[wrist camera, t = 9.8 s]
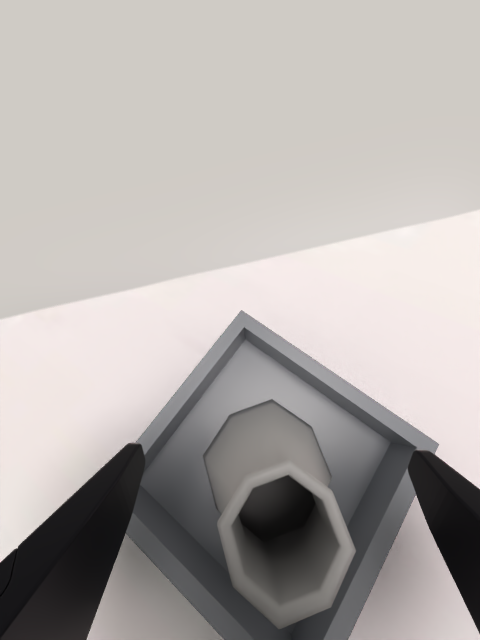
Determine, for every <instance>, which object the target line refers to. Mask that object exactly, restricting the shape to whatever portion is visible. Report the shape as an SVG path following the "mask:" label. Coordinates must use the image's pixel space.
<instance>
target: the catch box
mask: <svg viewBox="0 0 480 640" xmlns="http://www.w3.org/2000/svg"><path fill="white" fill-rule="evenodd" d="M271 399H273V400H274V401H276V402H277V403H279V404H280V405H281V406H283V407H284V408H286V409H287V410H289V411H290V412H292V413H293V414H294V415H296V416H297V417H299V418H300V419H302V420H303V421H305V422H306V423H308V424H309V425H310V426H312V428H313V431H314V433H315V436H316V438H317V441H318V443H319V446H320V448H321V450H322V453H323V455H324V458H325V460H326V463H327V465H328V468H329V470H330V473H331V475H332V479H331V481H330V483H329V485H328V488H329V489H331V490H332V492H333V494H334V496H335V499H336V501H337V504H338V506H339V509H340V511H341V514H342V516H343V519H344V521H345V524H346V526H347V529H348V531H349V534H350V536H351V539H352V542H353V544H354V547H355V549H356V552H355V555H354V557H353V559H352V561H351V564H350V566H349V568H348V570H347V573H346V575H345V577H344V579H343V582H342V584H341V586H340V588H339V591H338V593H337V595H336V597H335V600H334V602H333V604H332V606H331V608H328V609H326V610H323V611H321V612H319V613H316V614H314V615H312V616H309V617H307V618H305V619H302V620H300V621H298V622H295V623H293V624H291V625H288V626H286V627H284V628H281V629H278V628H277V627H276V626H275V625H274V624H273V623H271V622H270V621H269V620H268V619H267V618H266V617H265V616H264V615H263V614H262V613H261V612H260V611H258V610H257V609H256V608H255V607H254V606H253V605H252V604H251V603H250V602H249V601H248V600H246V599H245V598H244V597H243V596H242V595H241V594H240V593H239V592H238V591H237V590H236V589H235V588H233V586H232V582H231V578H230V574H229V570H228V566H227V562H226V558H225V554H224V550H223V546H222V542H221V538H220V534H219V530H218V526H217V522H218V520H219V518H220V517H221V515H222V514H221V513H220V512H219V511H218V510H217V509H216V506H215V502H214V498H213V494H212V490H211V486H210V482H209V478H208V474H207V471H206V467H205V463H204V459H203V455H204V453H205V452H206V450H207V449H208V447H209V445H210V444H211V442H212V441H213V439H214V438H215V436H216V435H217V433H218V432H219V430H220V429H221V427H222V426H223V424H224V423H225V421H226V420H227V418H228V416H229V415H230V414H232V413H235V412H238V411H241V410H243V409H246V408H249V407H252V406H255V405H257V404H260V403H263V402H266V401H268V400H271ZM136 443H140V444H141V445H142V448H143V452H144V456H145V461H146V462H145V468H144V472H143V476H142V479H141V483H140V487H139V491H138V494H137V498H136V502H135V506H134V509H133V513H132V516H131V519H130V522H129V525H128V528H127V531H126V534H127V535H128V536H129V537H130V538H131V539H132V540H133V541H134V543H135V544H136V545H137V546H138V547H139V548H140V549H141V550H142V551H143V552H144V553H145V554H146V556H147V557H148V558H149V559H150V560H151V561H152V562H153V563H154V564H155V565H156V566H157V567H158V568H159V570H160V571H161V572H162V573H163V574H164V575H165V576H166V577H167V578H168V579H169V580H170V581H171V583H172V584H173V585H174V586H175V587H176V588H177V589H178V590H179V591H180V592H181V593H182V594H183V595H184V597H185V598H186V599H187V600H188V601H189V602H190V603H191V604H192V605H193V606H194V607H195V608H196V610H197V611H198V612H199V613H200V614H201V615H202V616H203V617H204V618H205V619H206V620H207V621H208V622H209V624H210V625H211V626H212V627H213V628H214V629H215V630H216V631H217V632H218V633H219V634H220V635H221V637H222V638H223V639H224V640H348V639H349V636H350V634H351V632H352V630H353V628H354V626H355V623H356V621H357V619H358V617H359V615H360V613H361V611H362V608H363V606H364V604H365V602H366V600H367V598H368V596H369V593H370V591H371V589H372V587H373V585H374V583H375V581H376V578H377V576H378V574H379V572H380V570H381V568H382V566H383V563H384V561H385V559H386V557H387V555H388V553H389V551H390V548H391V546H392V544H393V542H394V540H395V538H396V536H397V533H398V531H399V529H400V527H401V525H402V523H403V521H404V518H405V516H406V514H407V512H408V510H409V508H410V506H411V503H412V501H413V499H414V497H415V495H416V492H415V490H414V487H413V484H412V482H411V479H410V476H409V474H408V464H409V461H410V459H411V456H412V453H413V451H414V450H429V451H431V452H432V453H433V454H435V452H436V450H437V448H438V446H439V444H438V443H437V442H435V441H434V440H432V439H431V438H429V437H428V436H426V435H425V434H424V433H422V432H421V431H419V430H418V429H416V428H415V427H413V426H412V425H410V424H409V423H407V422H406V421H404V420H403V419H401V418H400V417H398V416H397V415H395V414H394V413H393V412H391V411H390V410H388V409H387V408H385V407H384V406H382V405H381V404H379V403H378V402H376V401H375V400H373V399H372V398H370V397H369V396H367V395H366V394H364V393H363V392H362V391H360V390H359V389H357V388H356V387H354V386H353V385H351V384H350V383H348V382H347V381H345V380H344V379H342V378H341V377H339V376H338V375H336V374H335V373H334V372H332V371H331V370H329V369H328V368H326V367H325V366H323V365H322V364H320V363H319V362H317V361H316V360H314V359H313V358H311V357H310V356H308V355H307V354H305V353H304V352H303V351H301V350H300V349H298V348H297V347H295V346H294V345H292V344H291V343H289V342H288V341H286V340H285V339H283V338H282V337H280V336H279V335H277V334H276V333H275V332H273V331H272V330H270V329H269V328H267V327H266V326H264V325H263V324H261V323H260V322H258V321H257V320H255V319H254V318H252V317H251V316H249V315H248V314H246V313H245V312H244V311H242V310H241V311H240V313H239V314H238V315H237V316H236V318H235V319H234V320H233V321H232V323H231V324H230V325H229V326H228V328H227V329H226V330H225V331H224V333H223V334H222V335H221V336H220V338H219V339H218V340H217V341H216V343H215V344H214V345H213V346H212V348H211V349H210V350H209V351H208V353H207V354H206V355H205V356H204V358H203V359H202V360H201V361H200V363H199V364H198V365H197V366H196V368H195V369H194V370H193V371H192V373H191V374H190V375H189V377H188V378H187V379H186V380H185V382H184V383H183V384H182V385H181V387H180V388H179V389H178V390H177V392H176V393H175V394H174V395H173V397H172V398H171V399H170V400H169V402H168V403H167V404H166V405H165V407H164V408H163V409H162V410H161V412H160V413H159V414H158V415H157V417H156V418H155V419H154V420H153V422H152V423H151V424H150V425H149V427H148V428H147V429H146V430H145V432H144V433H143V434H142V435H141V437H140V438H139V439H138V440H137V442H136Z"/></svg>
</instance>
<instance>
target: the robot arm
mask: <svg viewBox="0 0 480 640" xmlns="http://www.w3.org/2000/svg"><path fill="white" fill-rule="evenodd" d="M145 462H146V461H145V456H144V452H143V448H142V445H141V444H140V443H129V444H127V445H126V446H125V447H124V448H123V449H122V450H120V451H119V452H118V453H117V454H116V455H115V456H114V457H113V458H112V459H111V460H110V461H109V462H108V463H107V464H105V465H104V466H103V467H102V468H101V469H100V470H99V471H98V472H97V473H96V474H95V475H94V476H93V477H92V478H90V479H89V480H88V481H87V482H86V483H85V484H84V485H83V486H82V487H81V488H80V489H79V490H78V491H77V492H75V493H74V494H73V495H72V496H71V497H70V498H69V499H68V500H67V501H66V502H65V503H64V504H63V505H62V506H61V507H59V508H58V509H57V510H56V511H55V512H54V513H53V514H52V515H51V516H50V517H49V518H48V519H47V520H46V521H44V522H43V523H42V524H41V525H40V526H39V527H38V528H37V529H36V530H35V531H34V532H33V533H32V534H31V535H29V536H28V537H27V538H26V539H25V540H24V541H23V542H22V543H21V544H20V545H19V546H18V549H17V548H16V549H14V550H13V551H12V552H11V553H10V554H9V555H8V556H7V557H6V558H5V559H4V560H3V561H1V562H0V640H86V639H87V636H88V634H89V631H90V628H91V625H92V623H93V620H94V617H95V615H96V612H97V609H98V606H99V604H100V601H101V598H102V596H103V593H104V590H105V587H106V585H107V582H108V579H109V577H110V574H111V571H112V568H113V566H114V563H115V560H116V558H117V555H118V552H119V550H120V547H121V544H122V541H123V539H124V536H125V533H126V531H127V528H128V525H129V522H130V519H131V516H132V513H133V509H134V506H135V502H136V498H137V494H138V491H139V487H140V483H141V479H142V476H143V472H144V468H145ZM408 474H409V476H410V479H411V482H412V484H413V487H414V490H415V492H416V495H417V498H418V500H419V503H420V506H421V508H422V511H423V514H424V516H425V519H426V521H427V524H428V526H429V529H430V531H431V533H432V535H433V537H434V539H435V542H436V544H437V546H438V548H439V550H440V552H441V554H442V556H443V558H444V560H445V562H446V564H447V566H448V569H449V571H450V573H451V575H452V577H453V579H454V581H455V583H456V585H457V587H458V589H459V591H460V594H461V596H462V598H463V600H464V602H465V604H466V606H467V608H468V610H469V612H470V614H471V616H472V619H473V621H474V623H475V625H476V627H477V629H478V631H479V633H480V489H479V488H477V487H476V486H475V485H474V484H472V483H471V482H470V481H468V480H467V479H466V478H464V477H463V476H462V475H461V474H459V473H458V472H457V471H455V470H454V469H453V468H452V467H450V466H449V465H448V464H446V463H445V462H444V461H442V460H441V459H440V458H439V457H437V456H436V455H435V454H433V453H432V452H431V451H429V450H414V451H413V453H412V456H411V459H410V461H409V464H408Z"/></svg>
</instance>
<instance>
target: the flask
mask: <svg viewBox="0 0 480 640" xmlns="http://www.w3.org/2000/svg"><path fill="white" fill-rule="evenodd" d="M203 459H204V463H205V467H206V471H207V474H208V478H209V482H210V486H211V490H212V494H213V498H214V502H215V506H216V509H217V510H218V511H219V512H220V513H221V514H222V515H221V517H220V518H219V520H218V522H217V526H218V530H219V534H220V538H221V542H222V546H223V550H224V554H225V558H226V562H227V566H228V570H229V574H230V578H231V582H232V586H233V588H235V589H236V590H237V591H238V592H239V593H240V594H241V595H242V596H243V597H244V598H245V599H246V600H248V601H249V602H250V603H251V604H252V605H253V606H254V607H255V608H256V609H257V610H258V611H260V612H261V613H262V614H263V615H264V616H265V617H266V618H267V619H268V620H269V621H270V622H271V623H273V624H274V625H275V626H276V627H277V628H278V629H281V628H284V627H286V626H288V625H291V624H293V623H295V622H298V621H300V620H302V619H305V618H307V617H309V616H312V615H314V614H316V613H319V612H321V611H323V610H326V609H328V608H331V606H332V604H333V602H334V600H335V597H336V595H337V593H338V591H339V588H340V586H341V584H342V582H343V579H344V577H345V575H346V573H347V570H348V568H349V566H350V564H351V561H352V559H353V557H354V555H355V552H356V549H355V547H354V544H353V542H352V539H351V536H350V534H349V531H348V529H347V526H346V524H345V521H344V519H343V516H342V514H341V511H340V509H339V506H338V504H337V501H336V499H335V496H334V494H333V492H332V490H331V489H329V488H328V485H329V483H330V481H331V479H332V475H331V473H330V470H329V468H328V465H327V463H326V460H325V458H324V455H323V453H322V450H321V448H320V446H319V443H318V441H317V438H316V436H315V433H314V431H313V428H312V426H310V425H309V424H308V423H306V422H305V421H303V420H302V419H300V418H299V417H297V416H296V415H294V414H293V413H292V412H290V411H289V410H287V409H286V408H284V407H283V406H281V405H280V404H279V403H277V402H276V401H274V400H273V399H271V400H268V401H266V402H263V403H260V404H257V405H255V406H252V407H249V408H246V409H243V410H241V411H238V412H235V413H232V414H230V415H229V416H228V418H227V420H226V421H225V423H224V424H223V426H222V427H221V429H220V430H219V432H218V433H217V435H216V436H215V438H214V439H213V441H212V442H211V444H210V445H209V447H208V449H207V450H206V452H205V453H204V455H203Z"/></svg>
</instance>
